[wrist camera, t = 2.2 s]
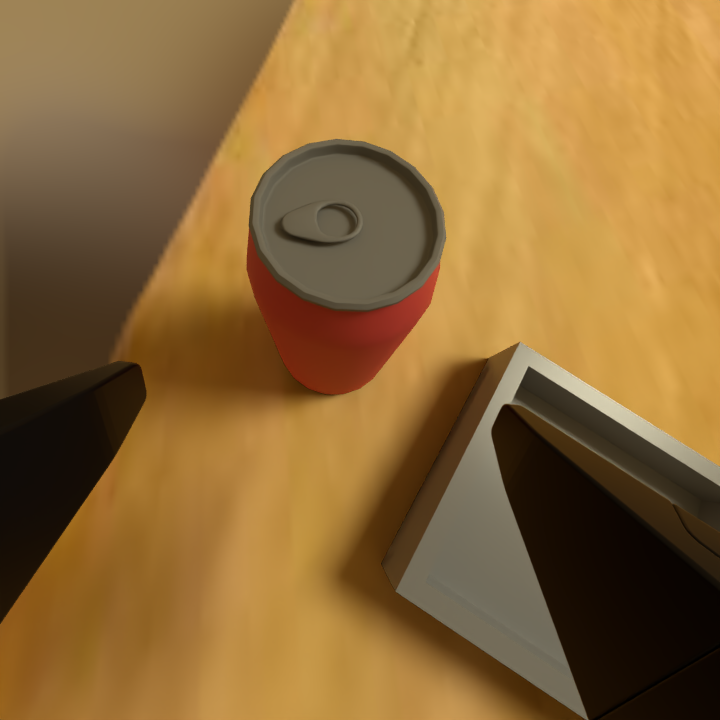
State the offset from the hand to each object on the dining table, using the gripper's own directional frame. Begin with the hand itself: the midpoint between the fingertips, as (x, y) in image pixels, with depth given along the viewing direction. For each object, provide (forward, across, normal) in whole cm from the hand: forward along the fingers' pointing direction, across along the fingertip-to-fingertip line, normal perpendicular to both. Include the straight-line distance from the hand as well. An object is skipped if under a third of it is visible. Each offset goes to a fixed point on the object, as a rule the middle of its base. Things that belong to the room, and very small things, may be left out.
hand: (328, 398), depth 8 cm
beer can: (+12, 0, +5) cm, 13 cm away
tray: (+5, -14, +11) cm, 19 cm away
